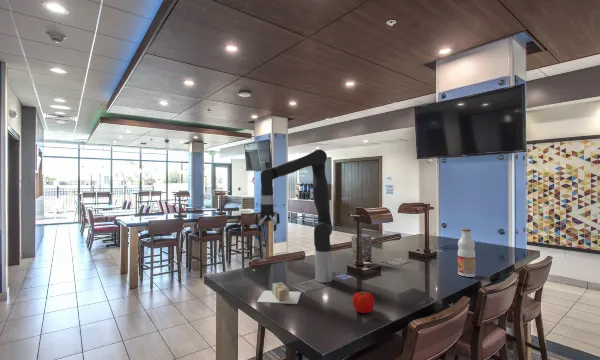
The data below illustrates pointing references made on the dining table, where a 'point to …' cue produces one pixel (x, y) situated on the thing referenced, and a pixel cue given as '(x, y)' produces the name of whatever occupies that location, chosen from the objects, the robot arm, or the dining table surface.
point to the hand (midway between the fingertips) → (267, 231)
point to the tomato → (363, 302)
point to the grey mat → (270, 298)
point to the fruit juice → (466, 255)
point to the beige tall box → (280, 291)
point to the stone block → (365, 248)
